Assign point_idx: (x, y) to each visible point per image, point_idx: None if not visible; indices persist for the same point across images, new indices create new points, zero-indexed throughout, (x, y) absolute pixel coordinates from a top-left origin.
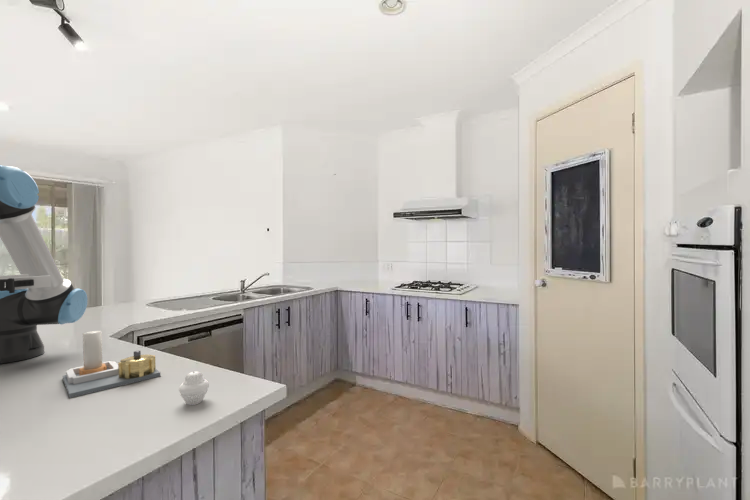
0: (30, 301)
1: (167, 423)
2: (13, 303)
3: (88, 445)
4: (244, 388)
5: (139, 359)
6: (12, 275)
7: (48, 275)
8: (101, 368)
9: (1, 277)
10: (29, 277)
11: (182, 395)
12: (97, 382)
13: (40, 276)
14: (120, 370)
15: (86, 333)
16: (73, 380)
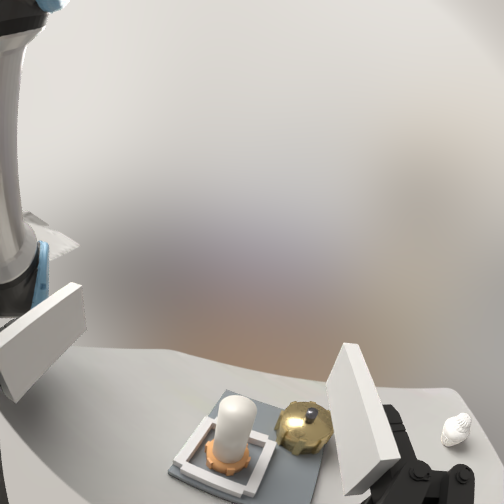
0: None
1: (476, 467)
2: None
3: None
4: (441, 404)
5: (316, 420)
6: (44, 314)
7: (344, 344)
8: (247, 450)
9: (19, 344)
10: (380, 404)
11: (457, 442)
12: (286, 479)
13: (366, 370)
14: (302, 448)
15: (235, 416)
16: (254, 494)
